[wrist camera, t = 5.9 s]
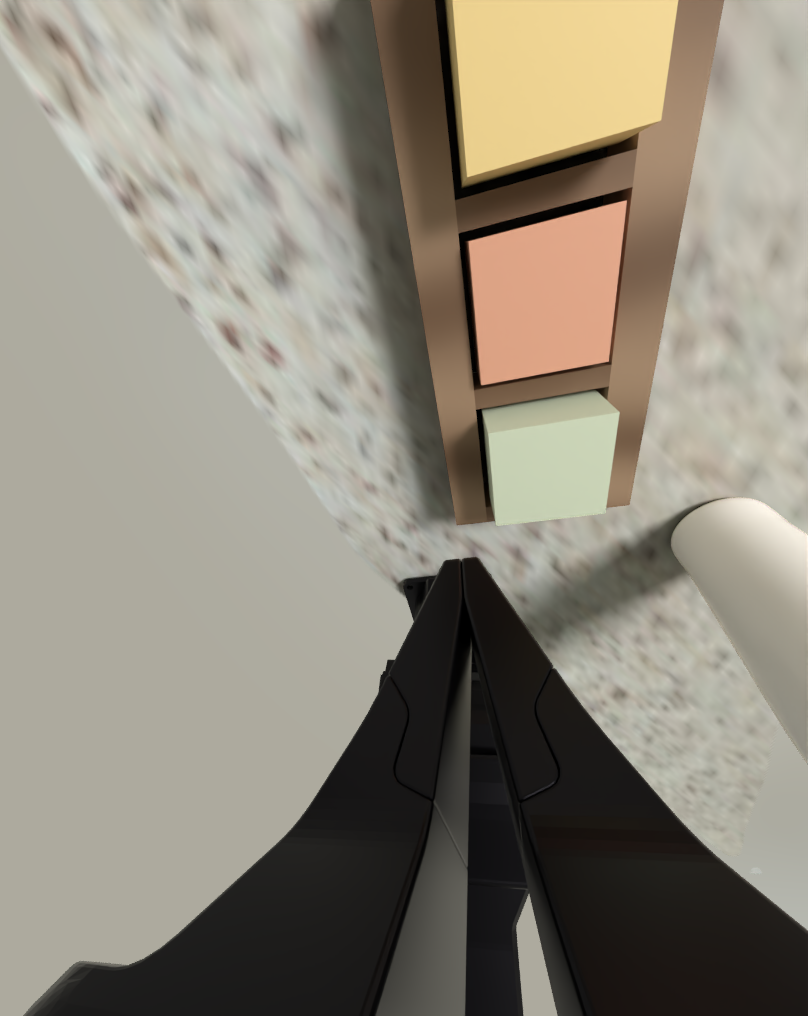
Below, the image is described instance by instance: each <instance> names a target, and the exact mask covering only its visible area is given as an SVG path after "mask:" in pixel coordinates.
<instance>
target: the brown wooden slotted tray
mask: <svg viewBox="0 0 808 1016" xmlns="http://www.w3.org/2000/svg"><path fill="white" fill-rule="evenodd" d="M370 1H371V7H372V13H373V19H374V26H375V32H376V38H377V44H378V50H379V56H380V62H381V68H382V74H383V80H384V86H385V92H386V98H387V105H388V111H389V117H390V123H391V129H392V135H393V141H394V147H395V153H396V159H397V165H398V171H399V178H400V184H401V190H402V196H403V202H404V208H405V214H406V220H407V226H408V232H409V238H410V244H411V251H412V257H413V263H414V269H415V275H416V281H417V287H418V293H419V299H420V305H421V311H422V317H423V324H424V330H425V336H426V342H427V348H428V354H429V360H430V366H431V372H432V378H433V384H434V390H435V396H436V403H437V409H438V415H439V421H440V427H441V433H442V439H443V445H444V451H445V457H446V463H447V469H448V476H449V482H450V488H451V494H452V500H453V506H454V512H455V518H456V524H457V525H464V524H473V523H481V522H489V521H495V519H494V515H493V510H492V505H491V500H490V496H489V485H488V482H483V475H482V465H481V455H480V445H479V436H478V426H477V416H476V410H477V409H483V408H488V407H494V406H500V405H505V404H511V403H517V402H523V401H528V400H534V399H540V398H545V397H551V396H557V395H563V394H568V393H574V392H580V391H585V390H593V389H595V390H596V391H597V392H599V393H600V394H601V395H602V396H603V397H604V398H605V399H606V400H607V401H608V402H609V403H610V404H611V405H613V406H614V407H615V408H616V409H617V410H618V411H619V412H620V414H619V421H618V428H617V435H616V442H615V449H614V456H613V463H612V470H611V477H610V484H609V491H608V498H607V505H606V508H608V507H616V506H625V505H629V504H630V499H631V493H632V488H633V483H634V477H635V472H636V467H637V461H638V456H639V451H640V445H641V440H642V435H643V429H644V424H645V419H646V413H647V408H648V403H649V397H650V392H651V387H652V381H653V376H654V371H655V365H656V360H657V355H658V349H659V344H660V339H661V333H662V328H663V323H664V318H665V312H666V307H667V302H668V296H669V291H670V286H671V280H672V275H673V270H674V264H675V259H676V254H677V248H678V243H679V238H680V232H681V227H682V222H683V216H684V211H685V206H686V200H687V195H688V190H689V184H690V179H691V174H692V168H693V163H694V158H695V152H696V147H697V142H698V136H699V131H700V126H701V120H702V115H703V110H704V104H705V99H706V94H707V88H708V83H709V78H710V72H711V67H712V62H713V56H714V51H715V46H716V40H717V35H718V30H719V25H720V19H721V14H722V9H723V3H724V0H678V6H677V13H676V20H675V27H674V34H673V41H672V48H671V55H670V62H669V69H668V76H667V83H666V90H665V97H664V104H663V111H662V118H661V121H659V122H658V123H656V124H654V125H652V126H650V127H648V128H646V129H644V130H643V131H641V132H639V133H637V134H635V135H633V136H631V137H630V138H628V139H626V140H624V141H622V142H620V143H618V144H615V145H611V146H608V149H607V157H606V158H603V159H599V160H596V161H592V162H589V163H585V164H581V165H578V166H574V167H571V168H567V169H564V170H560V171H557V172H553V173H550V174H546V175H543V176H539V177H536V178H532V179H528V180H525V181H521V182H518V183H514V184H511V185H507V186H504V187H500V188H497V189H493V190H490V191H486V192H483V193H479V194H475V195H472V196H468V197H465V198H461V199H458V200H455V196H454V186H453V176H452V166H451V156H450V146H449V136H448V126H447V116H446V106H445V96H444V86H443V76H442V66H441V56H440V46H439V36H438V26H437V16H436V6H435V0H370ZM602 195H604V196H603V205H607V204H612V203H617V202H621V201H626V200H627V205H626V214H625V222H624V231H623V240H622V249H621V258H620V266H619V275H618V284H617V293H616V302H615V310H614V319H613V328H612V337H611V345H610V354H609V362H604V363H598V364H593V365H588V366H582V367H577V368H572V369H566V370H561V371H556V372H550V373H545V374H540V375H534V376H529V377H523V378H518V379H513V380H507V381H502V382H497V383H491V384H486V385H481V383H480V380H479V376H478V373H477V372H475V373H472V366H471V356H470V346H469V336H468V326H467V316H466V306H465V296H464V286H463V276H462V266H461V256H460V246H459V236H458V234H459V233H462V232H466V231H470V230H474V229H477V228H481V227H485V226H489V225H493V224H496V223H500V222H504V221H508V220H511V219H515V218H519V217H523V216H526V215H530V214H534V213H538V212H541V211H545V210H549V209H553V208H557V207H560V206H564V205H568V204H572V203H575V202H579V201H583V200H587V199H590V198H594V197H598V196H602Z"/></svg>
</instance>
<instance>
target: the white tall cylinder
mask: <svg viewBox="0 0 808 1016" xmlns="http://www.w3.org/2000/svg"><path fill="white" fill-rule="evenodd" d="M671 548H672V551H673V553H674V555H675V557H676V558H677V560H678V561H679V562H680V564H681V565H682V566H683V568H684V569H685V570H686V571H687V573H688V574H689V576H690V577H691V579H692V580H693V582H694V584H695V585H696V587H697V588H698V590H699V592H700V593H701V595H702V597H703V598H704V600H705V601H706V603H707V605H708V606H709V608H710V609H711V611H712V613H713V614H714V616H715V618H716V619H717V621H718V623H719V624H720V626H721V627H722V629H723V631H724V632H725V634H726V636H727V637H728V639H729V641H730V642H731V644H732V645H733V647H734V649H735V650H736V652H737V654H738V655H739V657H740V659H741V660H742V662H743V664H744V665H745V667H746V669H747V670H748V672H749V674H750V675H751V677H752V679H753V680H754V682H755V683H756V685H757V687H758V688H759V690H760V692H761V693H762V695H763V697H764V698H765V700H766V702H767V703H768V705H769V706H770V708H771V710H772V711H773V713H774V715H775V716H776V718H777V719H778V721H779V722H780V724H781V726H782V727H783V729H784V730H785V732H786V733H787V735H788V736H789V738H790V739H791V741H792V742H793V744H794V745H795V747H796V748H797V750H798V751H799V753H800V754H801V756H802V757H803V758H804V760H805V761H806V763H807V764H808V534H806V533H805V532H803V531H802V530H800V529H799V528H797V527H796V526H794V525H793V524H791V523H790V522H789V521H787V520H786V519H785V518H784V517H782V516H781V515H780V514H778V513H777V512H776V511H775V510H773V509H772V508H771V507H769V506H768V505H766V504H765V503H763V502H760V501H758V500H755V499H750V498H743V497H733V498H725V499H720V500H716V501H713V502H710V503H708V504H705V505H703V506H701V507H699V508H697V509H695V510H694V511H692V512H691V513H689V514H688V515H687V516H686V517H684V518H683V519H682V520H681V521H680V522H679V524H678V525H677V526H676V528H675V530H674V531H673V534H672V537H671Z"/></svg>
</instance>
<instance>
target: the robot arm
mask: <svg viewBox="0 0 808 1016" xmlns="http://www.w3.org/2000/svg"><path fill="white" fill-rule="evenodd" d="M409 585H411V586H409ZM403 588H404V592H405V595H406V598H407V601H408V604H409V607H410V610H411V613H412V617H413V620H414V623H413V625H412V627H411V629H410V631H409V633H408V635H407V637H406V639H405V641H404V643H403V645H402V647H401V649H400V651H399V653H398V655H397V657H396V659H395V660H388V661H387V666H386V671H384V672H383V674H382V675H381V678H380V686H379V693H378V695H377V697H376V699H375V701H374V702H373V704H372V706H371V708H370V710H369V712H368V714H367V715H366V717H365V719H364V720H363V722H362V724H361V725H360V727H359V729H358V730H357V732H356V734H355V735H354V737H353V738H352V740H351V742H350V743H349V745H348V746H347V748H346V749H345V751H344V752H343V754H342V756H341V757H340V759H339V760H338V762H337V763H336V765H335V767H334V768H333V770H332V771H331V773H330V774H329V776H328V777H327V779H326V781H325V782H324V784H323V785H322V787H321V788H320V790H319V792H318V793H317V795H316V796H315V798H314V799H313V801H312V802H311V804H310V805H309V807H308V808H307V810H306V811H305V813H304V814H303V815H302V816H301V818H300V819H299V820H298V822H297V823H296V824H295V825H294V826H293V828H292V829H291V830H290V831H289V832H288V833H287V834H286V835H285V836H284V837H283V838H282V839H281V840H280V841H279V842H278V843H277V844H276V845H275V846H274V847H273V848H272V849H270V850H269V851H268V852H267V853H266V854H265V855H264V856H263V857H262V858H260V859H259V860H258V861H257V862H256V863H255V864H254V865H253V866H252V867H251V868H249V869H248V870H247V871H246V872H245V873H244V874H243V875H242V876H241V877H240V878H238V879H237V881H235V882H234V883H233V884H232V885H231V886H230V887H229V888H227V889H226V890H225V891H224V892H223V893H222V894H221V895H220V896H219V897H218V898H217V899H215V900H214V901H213V902H212V903H211V904H210V905H209V906H208V907H207V908H206V909H205V910H203V911H202V912H201V913H200V914H199V915H198V916H197V917H196V918H195V919H194V920H192V921H191V922H190V923H189V924H188V925H187V926H186V927H185V928H184V929H182V930H181V931H180V932H179V933H178V934H177V935H176V936H175V937H173V938H172V939H171V940H170V941H168V942H167V943H166V944H165V945H164V946H162V947H161V948H160V949H158V950H156V951H155V952H153V953H152V954H150V955H149V956H147V957H145V958H144V959H142V960H140V961H137V962H135V963H132V964H130V965H121V964H110V963H100V962H87V961H79V962H77V963H75V964H74V965H72V966H71V967H70V968H69V969H68V970H67V971H66V972H65V973H64V974H63V975H62V976H61V977H60V978H59V979H58V980H57V981H56V982H55V983H54V984H53V985H52V986H51V987H50V988H49V989H48V990H47V991H46V992H45V993H44V994H43V995H42V996H41V997H40V998H39V999H38V1000H37V1001H36V1002H35V1003H34V1004H33V1005H32V1006H31V1007H30V1008H29V1010H28V1011H27V1012H26V1013H25V1014H24V1015H23V1016H523V1006H522V994H521V983H520V970H519V959H518V947H517V934H516V925H517V922H518V920H519V917H520V915H521V912H522V909H523V907H524V904H525V902H526V899H527V896H528V894H530V898H531V903H532V907H533V911H534V916H535V920H536V924H537V928H538V933H539V937H540V941H541V945H542V950H543V954H544V959H545V963H546V967H547V972H548V976H549V980H550V984H551V989H552V993H553V997H554V1002H555V1006H556V1010H557V1014H558V1016H808V931H807V930H806V929H805V928H804V927H803V926H801V925H800V924H799V923H798V922H797V921H795V920H794V919H793V918H792V917H790V916H789V915H788V914H786V913H785V912H784V911H783V910H782V909H781V908H779V907H778V906H777V905H776V904H774V903H773V902H772V901H771V900H770V899H768V898H767V897H766V896H765V895H763V894H762V893H761V892H760V891H759V890H757V889H756V888H755V887H754V886H752V885H751V884H750V883H749V882H747V881H746V880H745V879H744V878H742V877H741V876H740V875H739V874H738V873H737V872H735V871H734V870H733V869H732V868H730V867H729V866H728V865H727V864H726V863H724V862H723V861H722V860H721V859H720V858H718V857H717V856H716V855H715V854H714V853H713V852H711V850H709V849H708V848H707V847H706V846H705V845H704V844H703V843H702V842H701V841H700V840H699V839H698V838H697V837H696V836H695V835H694V834H693V833H692V832H691V831H690V830H689V829H688V828H687V827H686V826H685V825H684V824H683V823H682V822H681V820H680V819H679V818H678V817H677V816H676V815H675V814H674V813H673V812H672V811H671V809H670V808H669V807H668V806H667V805H666V804H665V803H664V801H663V800H662V799H661V798H660V797H659V796H658V795H657V793H656V792H655V791H654V790H653V789H652V788H651V786H650V785H649V784H648V783H647V782H646V781H645V780H644V778H643V777H642V776H641V775H640V774H639V773H638V771H637V770H636V769H635V768H634V767H633V766H632V764H631V763H630V762H629V761H628V760H627V759H626V758H625V756H624V755H623V754H622V753H621V752H620V751H619V749H618V748H617V747H616V746H615V745H614V744H613V743H612V741H611V740H610V739H609V738H608V737H607V736H606V734H605V733H604V732H603V731H602V729H601V728H600V727H599V726H598V725H597V723H596V722H595V721H594V720H593V719H592V717H591V716H590V715H589V714H588V712H587V711H586V710H585V709H584V707H583V706H582V705H581V703H580V702H579V701H578V699H577V698H576V697H575V695H574V694H573V693H572V691H571V690H570V688H569V687H568V686H567V684H566V683H565V682H564V680H563V679H562V677H561V676H560V674H559V673H558V671H557V670H556V669H555V668H553V665H552V663H551V662H550V660H549V659H548V657H547V656H546V654H545V653H544V652H543V650H542V649H541V647H540V646H539V644H538V643H537V641H536V640H535V639H534V637H533V636H532V634H531V633H530V631H529V630H528V628H527V627H526V626H525V624H524V623H523V621H522V620H521V618H520V617H519V615H518V614H517V613H516V611H515V610H514V608H513V607H512V605H511V604H510V603H509V601H508V600H507V598H506V597H505V595H504V594H503V592H502V591H501V590H500V588H499V587H498V585H497V584H496V582H495V581H494V579H493V578H492V576H491V574H490V573H489V572H488V571H487V569H486V568H485V566H484V565H483V564H482V562H481V561H480V559H479V558H477V557H472V558H463V559H462V562H461V560H460V559H452V560H446V561H444V562H443V564H442V566H441V568H440V570H439V572H438V574H437V576H434V577H424V578H413V579H406V580H405V581H404V585H403Z"/></svg>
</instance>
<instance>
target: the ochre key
mask: <svg viewBox="0 0 808 1016" xmlns="http://www.w3.org/2000/svg"><path fill="white" fill-rule="evenodd" d="M677 6H678V0H445V10H446V21H447V32H448V43H449V54H450V65H451V76H452V87H453V98H454V109H455V120H456V131H457V143H458V154H459V165H460V176H461V187H462V188H465V187H469V186H472V185H476V184H479V183H483V182H486V181H490V180H493V179H497V178H500V177H503V176H507V175H510V174H514V173H517V172H521V171H524V170H528V169H531V168H535V167H538V166H542V165H545V164H549V163H552V162H556V161H559V160H563V159H566V158H569V157H573V156H576V155H580V154H583V153H587V152H590V151H594V150H597V149H601V148H604V147H608V146H611V145H615V144H618V143H620V142H622V141H624V140H626V139H628V138H630V137H631V136H633V135H635V134H637V133H639V132H641V131H643V130H644V129H646V128H648V127H650V126H652V125H654V124H656V123H658V122H659V121H661V118H662V111H663V104H664V97H665V90H666V83H667V76H668V69H669V62H670V55H671V48H672V41H673V34H674V27H675V20H676V13H677Z"/></svg>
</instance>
